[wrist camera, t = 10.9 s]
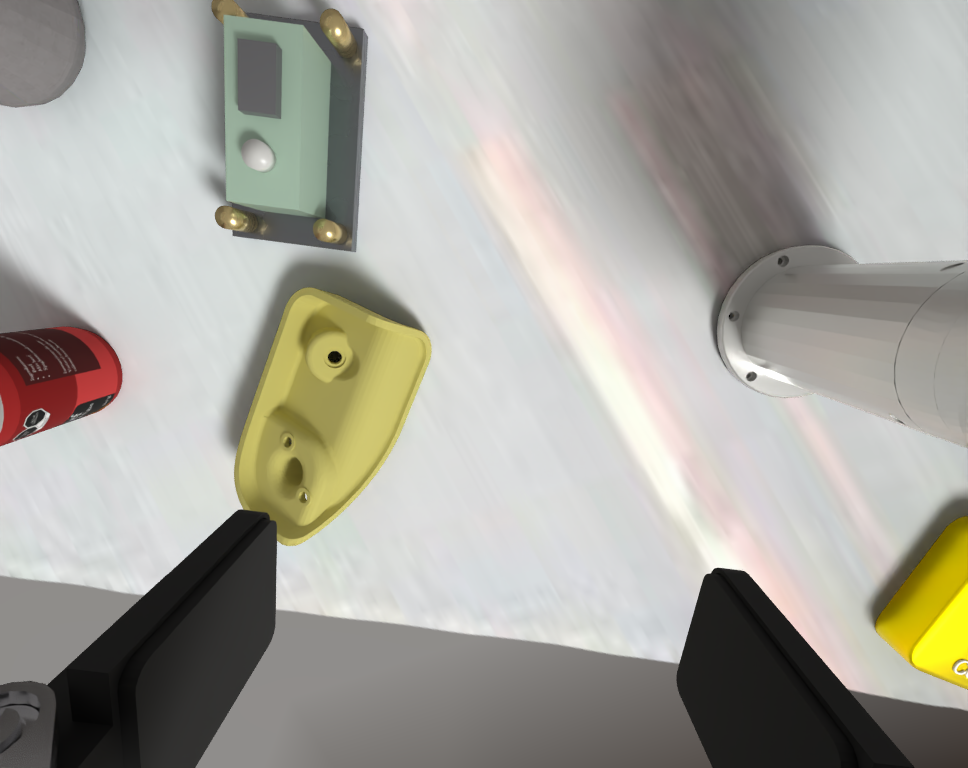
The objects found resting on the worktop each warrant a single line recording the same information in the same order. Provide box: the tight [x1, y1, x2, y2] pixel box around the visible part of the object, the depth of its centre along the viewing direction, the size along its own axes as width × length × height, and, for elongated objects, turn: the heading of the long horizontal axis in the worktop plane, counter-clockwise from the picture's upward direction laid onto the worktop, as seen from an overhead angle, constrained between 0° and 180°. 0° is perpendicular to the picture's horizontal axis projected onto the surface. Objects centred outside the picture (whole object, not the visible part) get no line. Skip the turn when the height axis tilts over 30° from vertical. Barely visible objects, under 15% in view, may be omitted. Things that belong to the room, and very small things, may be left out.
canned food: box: [0, 327, 122, 446], centre depth 35 cm, size 8×8×11 cm
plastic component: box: [234, 287, 431, 546], centre depth 39 cm, size 20×7×10 cm
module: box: [224, 15, 331, 219], centre depth 31 cm, size 5×11×6 cm, turn 173°
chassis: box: [212, 0, 368, 252], centre depth 33 cm, size 10×16×4 cm, turn 173°
